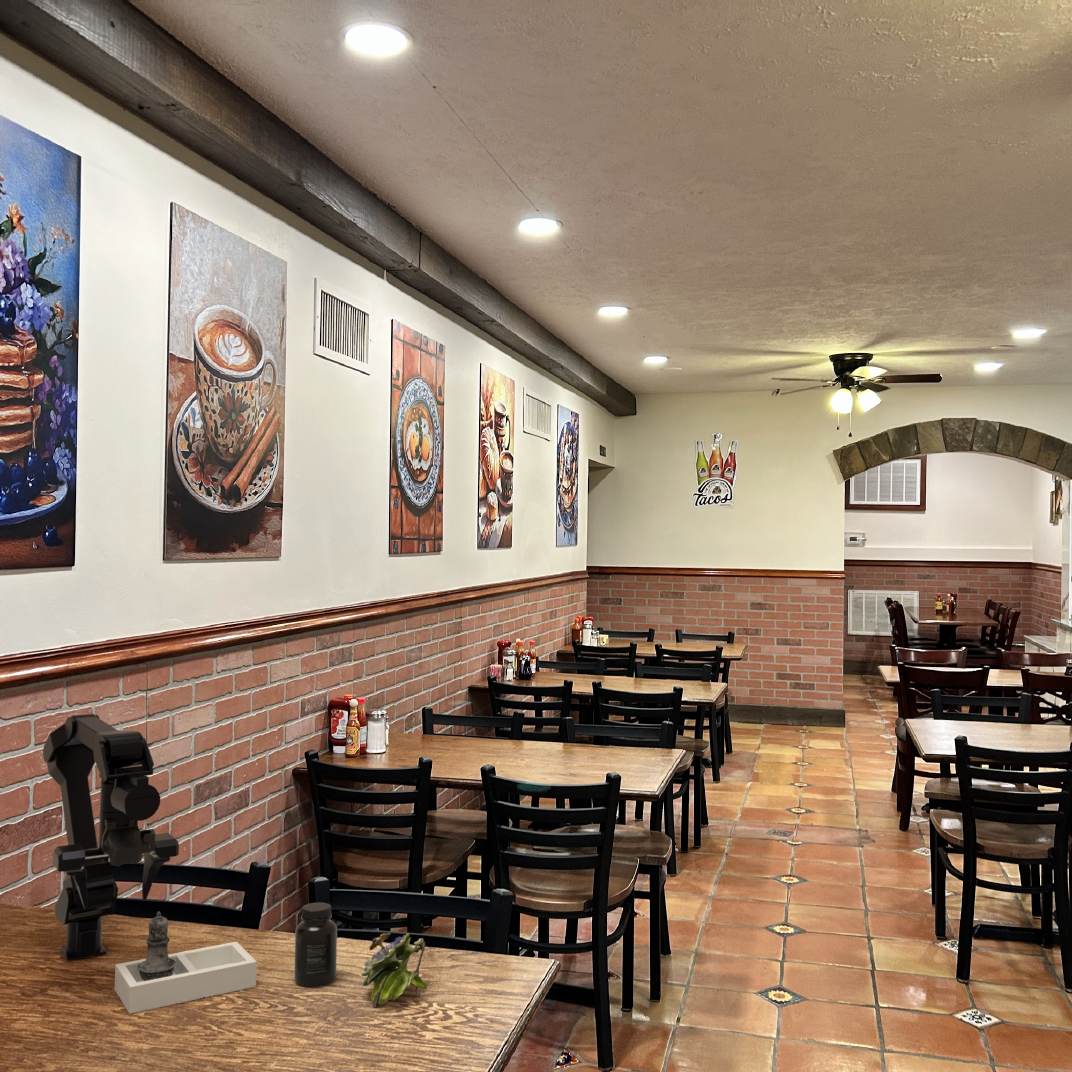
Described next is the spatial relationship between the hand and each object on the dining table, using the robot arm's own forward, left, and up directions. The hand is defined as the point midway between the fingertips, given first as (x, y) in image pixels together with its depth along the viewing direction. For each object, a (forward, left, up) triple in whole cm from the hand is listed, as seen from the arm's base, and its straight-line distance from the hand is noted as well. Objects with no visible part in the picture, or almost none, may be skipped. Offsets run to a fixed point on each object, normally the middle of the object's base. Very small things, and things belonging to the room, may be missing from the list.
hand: (115, 903), depth 169 cm
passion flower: (+30, +37, -12) cm, 49 cm away
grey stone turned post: (+10, +4, -11) cm, 16 cm away
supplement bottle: (+18, +28, -12) cm, 35 cm away
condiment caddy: (+10, +9, -12) cm, 18 cm away
